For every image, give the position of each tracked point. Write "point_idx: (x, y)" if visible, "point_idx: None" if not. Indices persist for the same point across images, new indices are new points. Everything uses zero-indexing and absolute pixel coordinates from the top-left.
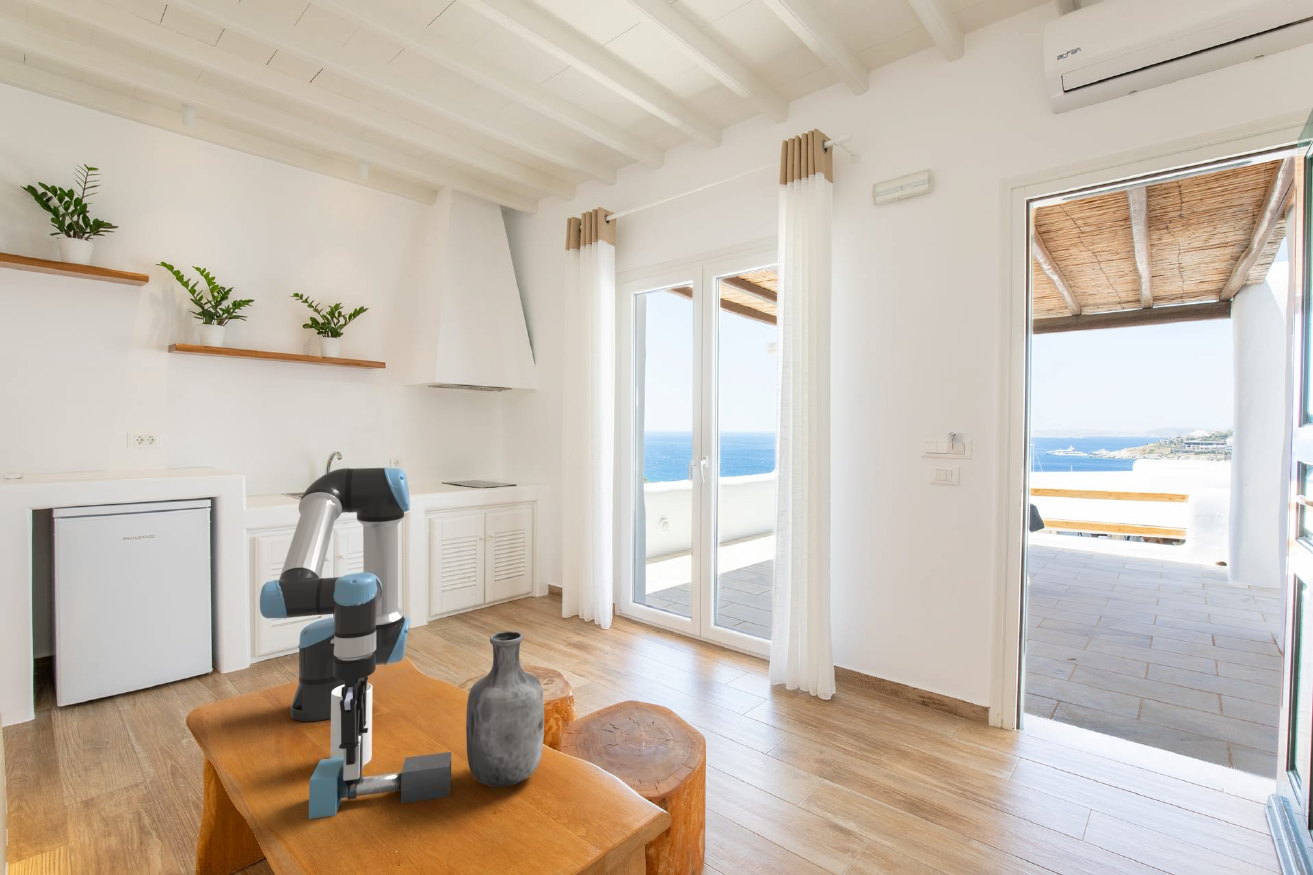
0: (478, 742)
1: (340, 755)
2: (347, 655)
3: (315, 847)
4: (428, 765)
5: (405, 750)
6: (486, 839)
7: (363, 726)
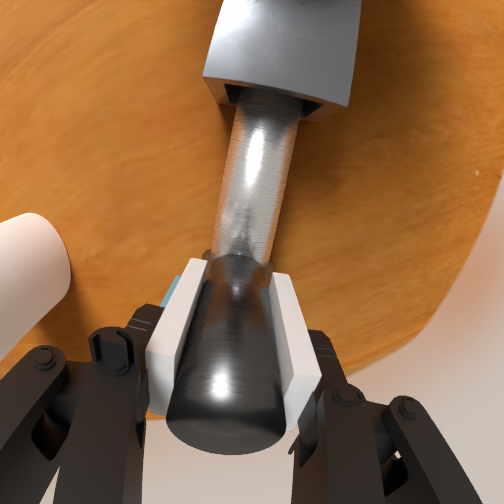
0: None
1: (48, 303)
2: None
3: (390, 318)
4: (328, 8)
5: (24, 128)
6: (485, 38)
7: (105, 385)
